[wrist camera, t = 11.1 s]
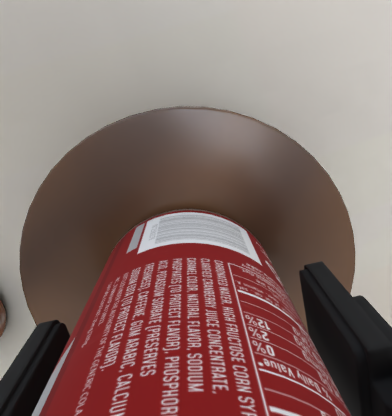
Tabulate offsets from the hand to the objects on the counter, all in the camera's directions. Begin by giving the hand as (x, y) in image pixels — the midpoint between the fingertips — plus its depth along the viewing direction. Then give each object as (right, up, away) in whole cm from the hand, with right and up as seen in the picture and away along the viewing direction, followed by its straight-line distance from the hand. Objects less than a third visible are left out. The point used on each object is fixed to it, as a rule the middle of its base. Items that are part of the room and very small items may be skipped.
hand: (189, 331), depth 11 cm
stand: (0, +3, +10) cm, 11 cm away
